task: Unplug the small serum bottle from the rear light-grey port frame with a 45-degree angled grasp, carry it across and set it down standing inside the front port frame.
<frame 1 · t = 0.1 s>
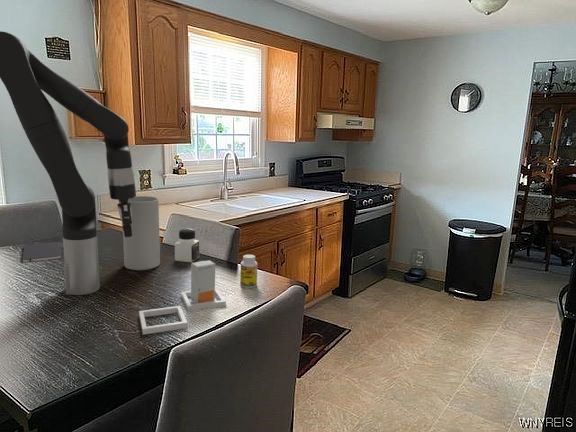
hand: (127, 233, 131), 17 cm above the table, tool pointing down, fingers open, 8 cm apart
notebook: (42, 254, 164), on the table
supplement bottle: (248, 286, 139), on the table
port A: (203, 301, 125), on the table
cylinder vase: (142, 266, 154), on the table
medicine bottle: (187, 259, 163), on the table
skincare box: (203, 301, 125), resting in port A
port B: (162, 321, 110), on the table
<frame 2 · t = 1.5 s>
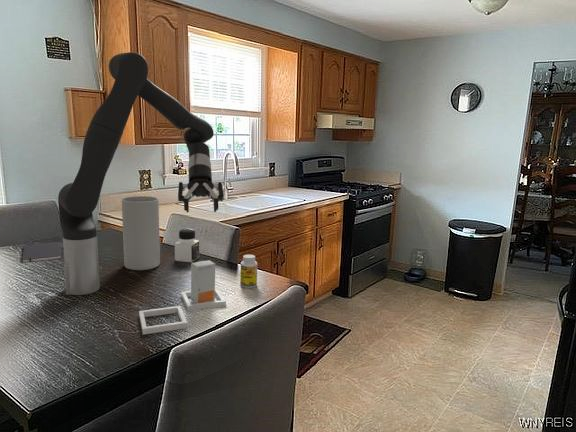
hand: (201, 210, 130), 25 cm above the table, tool tilted 45°, fingers open, 8 cm apart
nothing on the table moved.
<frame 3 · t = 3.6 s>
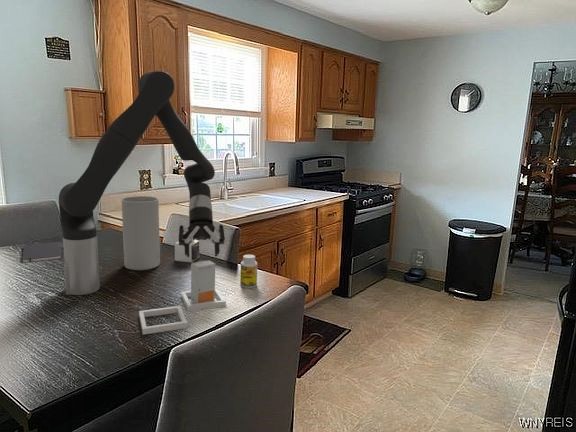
hand: (202, 255, 128), 12 cm above the table, tool tilted 45°, fingers open, 8 cm apart
nothing on the table moved.
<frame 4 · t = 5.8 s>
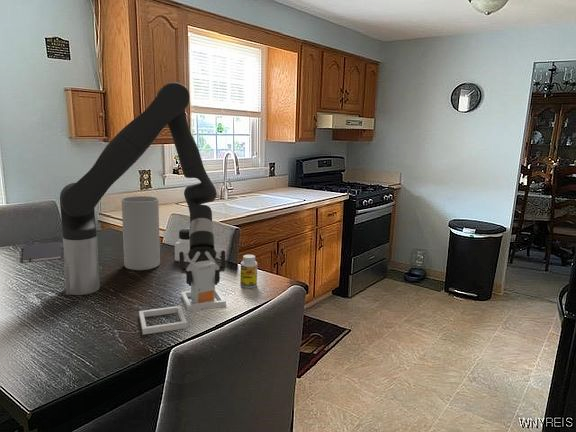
hand: (203, 284, 122), 6 cm above the table, tool tilted 45°, fingers closed on skincare box, 7 cm apart
skincare box: (203, 301, 125), resting in port A, touching gripper
everything else where it was.
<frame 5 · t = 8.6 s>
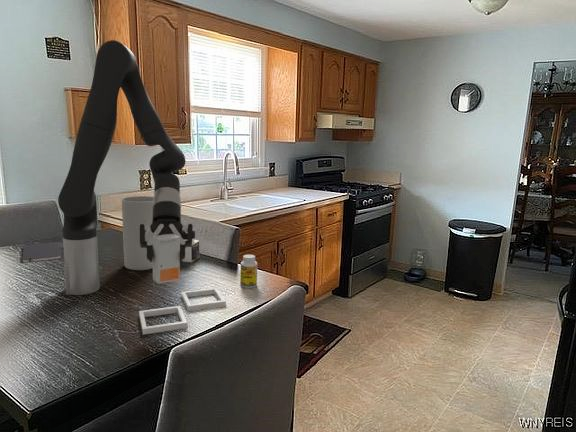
hand: (166, 260, 107), 17 cm above the table, tool tilted 45°, fingers closed on skincare box, 7 cm apart
skincare box: (166, 280, 110), point 11 cm above the table, touching gripper
everything else where it was.
when the fingers open (8 cm above the table, at t = 11.7 s): skincare box drops 2 cm, resting in port B.
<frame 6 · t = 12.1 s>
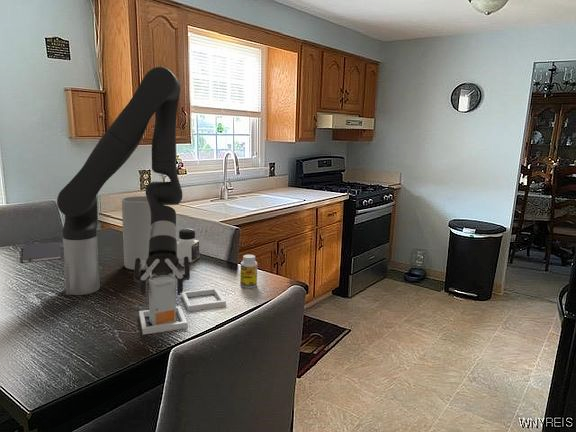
hand: (161, 295, 107), 8 cm above the table, tool tilted 45°, fingers open, 8 cm apart
skincare box: (163, 322, 111), resting in port B
everything else where it was.
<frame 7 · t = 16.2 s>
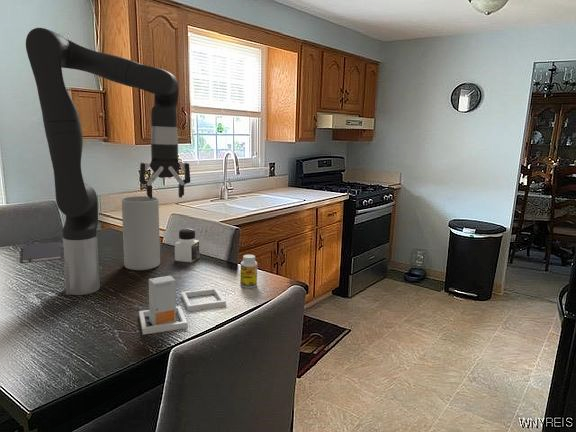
hand: (165, 197, 124), 30 cm above the table, tool pointing down, fingers open, 8 cm apart
nothing on the table moved.
at the end: skincare box inside the target area on the port B (0.1 cm from its centre), point 0.0 cm above the port B's base; skincare box tilted 0°; the gripper is holding nothing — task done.
